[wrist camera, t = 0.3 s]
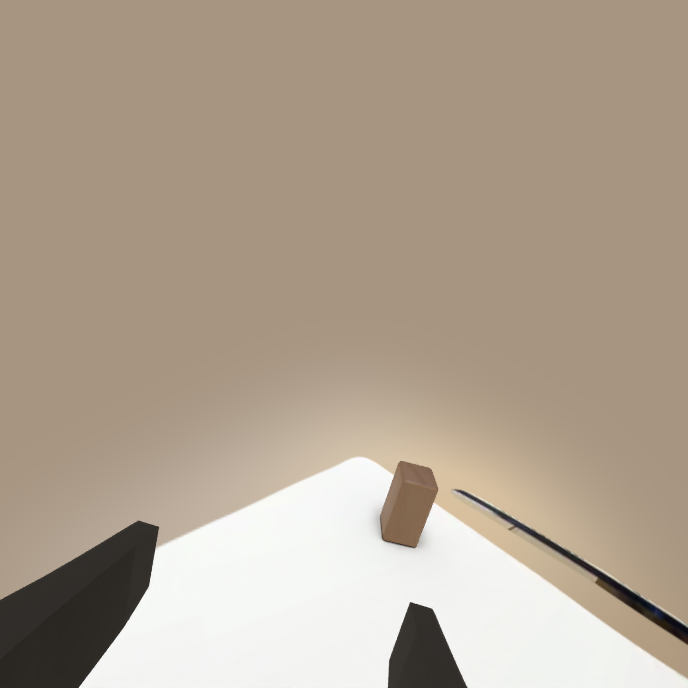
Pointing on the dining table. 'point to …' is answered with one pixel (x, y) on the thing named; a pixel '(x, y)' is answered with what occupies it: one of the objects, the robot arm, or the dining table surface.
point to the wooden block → (408, 503)
